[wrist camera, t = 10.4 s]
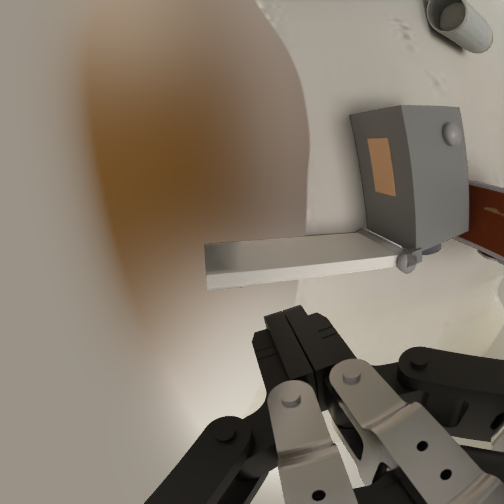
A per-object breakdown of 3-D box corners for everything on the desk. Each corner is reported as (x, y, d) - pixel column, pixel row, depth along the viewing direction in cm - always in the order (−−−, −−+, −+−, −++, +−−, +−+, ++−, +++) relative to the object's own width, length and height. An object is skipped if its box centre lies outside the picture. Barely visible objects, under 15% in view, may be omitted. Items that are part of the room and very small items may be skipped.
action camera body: (333, 117, 23) (388, 104, 15) (407, 111, 24) (465, 107, 16) (354, 247, 28) (405, 281, 20) (420, 225, 29) (473, 248, 21)
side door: (205, 258, 25) (208, 294, 19) (204, 240, 25) (205, 271, 18) (367, 244, 28) (409, 269, 21) (368, 228, 27) (412, 250, 21)
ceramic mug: (466, 59, 23) (503, 53, 15) (431, 38, 21) (471, 25, 14) (452, 7, 19) (484, -4, 12) (416, -16, 18) (448, -32, 11)
